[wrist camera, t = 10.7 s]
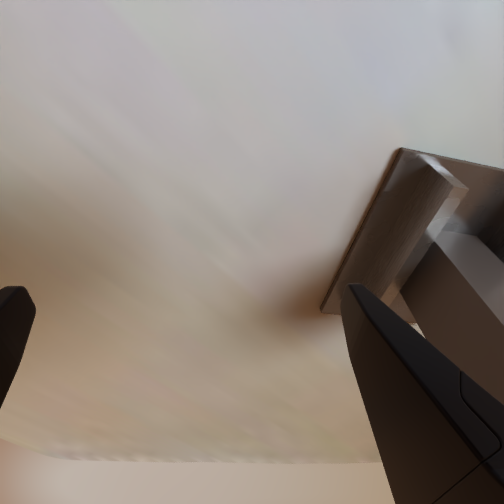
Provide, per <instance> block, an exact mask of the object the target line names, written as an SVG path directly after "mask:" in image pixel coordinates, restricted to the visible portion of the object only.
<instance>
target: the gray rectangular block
mask: <svg viewBox="0 0 504 504" xmlns="http://www.w3.org/2000/svg"><path fill="white" fill-rule="evenodd" d="M399 292H400V294H401V295H402V297H403V299H404V301H405V302H406V304H407V306H408V308H409V310H410V311H411V313H412V315H413V317H414V318H415V320H416V322H417V324H418V326H419V327H420V329H421V331H422V333H423V334H424V336H425V338H426V339H427V340H428V341H429V342H430V343H431V344H432V345H434V346H435V347H436V348H437V349H438V350H439V351H441V352H442V353H443V354H444V355H445V356H446V357H447V358H449V359H450V360H451V361H452V362H453V363H454V364H456V365H457V366H458V367H459V368H460V371H461V370H462V371H464V372H465V373H466V374H467V375H469V376H470V377H471V378H472V379H473V380H474V381H475V382H477V383H478V384H479V385H480V386H482V387H483V388H484V389H485V390H486V391H488V392H489V393H490V394H491V395H492V396H494V397H495V398H496V399H497V400H499V401H500V402H501V403H502V404H504V263H503V262H502V261H501V260H500V259H499V258H498V257H497V256H496V255H495V254H494V253H493V252H492V251H491V250H490V249H489V248H488V247H487V246H486V245H485V244H484V243H483V242H482V241H481V240H480V239H479V238H478V237H477V236H473V235H467V234H461V233H455V232H449V231H443V230H441V231H440V233H439V234H438V236H437V237H436V239H435V240H434V242H433V243H432V244H431V246H430V247H429V249H428V250H427V252H426V253H425V255H424V256H423V258H422V259H421V261H420V262H419V263H418V265H417V266H416V268H415V269H414V271H413V272H412V274H411V275H410V277H409V278H408V279H407V281H406V282H405V284H404V285H403V287H402V288H401V290H400V291H399Z"/></svg>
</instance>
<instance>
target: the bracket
mask: <svg viewBox="0 0 504 504" xmlns="http://www.w3.org/2000/svg"><path fill="white" fill-rule="evenodd" d="M441 230H443V231H449V232H455V233H461V234H467V235H473V236H477V237H478V238H479V239H480V240H481V241H482V242H483V243H484V244H485V245H486V246H487V247H488V248H489V249H490V250H491V251H492V252H493V253H494V254H495V255H496V256H497V257H498V258H499V259H500V260H501V261H502V262H503V263H504V169H500V168H496V167H491V166H486V165H481V164H477V163H472V162H467V161H463V160H458V159H453V158H449V157H444V156H439V155H435V154H430V153H425V152H420V151H416V150H411V149H406V148H402V147H401V149H400V151H399V153H398V155H397V157H396V159H395V161H394V163H393V165H392V167H391V169H390V171H389V173H388V175H387V177H386V179H385V181H384V183H383V185H382V187H381V189H380V191H379V193H378V195H377V197H376V199H375V201H374V203H373V205H372V206H371V208H370V210H369V212H368V214H367V216H366V218H365V220H364V222H363V224H362V226H361V228H360V230H359V232H358V234H357V236H356V238H355V240H354V242H353V244H352V246H351V248H350V250H349V252H348V254H347V256H346V258H345V260H344V262H343V264H342V266H341V268H340V270H339V272H338V274H337V276H336V278H335V280H334V282H333V284H332V286H331V288H330V290H329V291H328V293H327V295H326V297H325V299H324V301H323V303H322V305H321V307H320V310H321V313H329V314H339V315H341V310H340V303H341V299H342V296H343V293H344V289H345V286H346V285H347V284H348V283H361V284H363V285H364V286H365V287H366V288H367V289H369V290H370V291H371V292H372V293H373V294H374V295H376V296H377V297H378V298H379V299H380V300H381V301H382V302H384V303H385V304H386V305H387V306H388V307H389V308H391V309H392V310H393V311H394V312H395V313H396V314H398V315H399V316H400V317H401V318H402V319H403V320H405V321H406V322H413V323H417V322H416V320H415V318H414V317H413V315H412V313H411V311H410V310H409V308H408V306H407V304H406V302H405V301H404V299H403V297H402V295H401V294H400V292H399V291H400V290H401V288H402V287H403V285H404V284H405V282H406V281H407V279H408V278H409V277H410V275H411V274H412V272H413V271H414V269H415V268H416V266H417V265H418V263H419V262H420V261H421V259H422V258H423V256H424V255H425V253H426V252H427V250H428V249H429V247H430V246H431V244H432V243H433V242H434V240H435V239H436V237H437V236H438V234H439V233H440V231H441Z"/></svg>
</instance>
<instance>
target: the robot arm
mask: <svg viewBox="0 0 504 504" xmlns="http://www.w3.org/2000/svg"><path fill="white" fill-rule="evenodd" d="M340 310H341V316H342V321H343V326H344V331H345V337H346V342H347V347H348V352H349V357H350V360H351V364H352V367H353V370H354V373H355V377H356V380H357V383H358V386H359V389H360V393H361V396H362V399H363V402H364V405H365V409H366V412H367V415H368V418H369V421H370V424H371V428H372V431H373V434H374V437H375V440H376V444H377V447H378V450H379V453H380V456H381V460H382V463H383V466H384V469H385V472H386V475H387V479H388V482H389V485H390V488H391V491H392V495H393V498H394V501H395V504H504V404H502V403H501V402H500V401H499V400H497V399H496V398H495V397H494V396H492V395H491V394H490V393H489V392H488V391H486V390H485V389H484V388H483V387H482V386H480V385H479V384H478V383H477V382H475V381H474V380H473V379H472V378H471V377H470V376H469V375H467V374H466V373H465V372H464V371H462V370H461V371H460V368H459V367H458V366H457V365H456V364H454V363H453V362H452V361H451V360H450V359H449V358H447V357H446V356H445V355H444V354H443V353H442V352H441V351H439V350H438V349H437V348H436V347H435V346H434V345H432V344H431V343H430V342H429V341H428V340H427V339H425V338H424V337H423V336H422V335H421V334H420V333H418V332H417V331H416V330H415V329H414V328H413V327H411V326H410V325H409V324H408V323H407V322H406V321H405V320H403V319H402V318H401V317H400V316H399V315H398V314H396V313H395V312H394V311H393V310H392V309H391V308H389V307H388V306H387V305H386V304H385V303H384V302H382V301H381V300H380V299H379V298H378V297H377V296H376V295H374V294H373V293H372V292H371V291H370V290H369V289H367V288H366V287H365V286H364V285H363V284H361V283H348V284H347V285H346V286H345V289H344V293H343V296H342V299H341V303H340ZM35 314H36V308H35V305H34V303H33V301H32V299H31V297H30V295H29V293H28V291H27V289H26V288H25V287H23V286H7V287H4V288H3V289H1V290H0V408H1V406H2V404H3V401H4V399H5V397H6V395H7V392H8V390H9V388H10V386H11V383H12V381H13V379H14V376H15V374H16V372H17V369H18V367H19V365H20V362H21V359H22V356H23V353H24V350H25V346H26V343H27V340H28V337H29V334H30V330H31V327H32V324H33V321H34V318H35Z"/></svg>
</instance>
